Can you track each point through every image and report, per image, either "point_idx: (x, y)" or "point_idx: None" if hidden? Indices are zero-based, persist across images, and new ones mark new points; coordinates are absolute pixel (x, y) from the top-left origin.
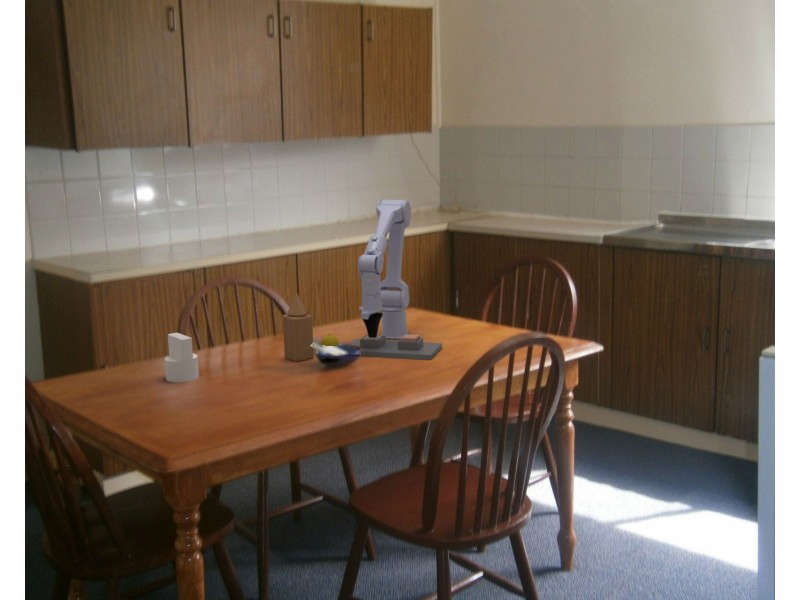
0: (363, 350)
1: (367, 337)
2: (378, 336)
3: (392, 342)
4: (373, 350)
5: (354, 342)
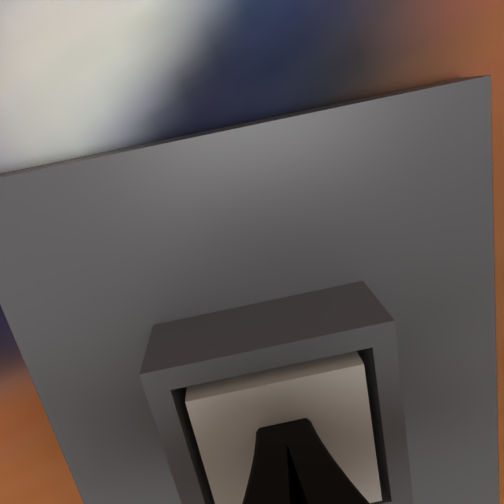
0: (72, 405)
1: (245, 417)
2: None
3: (432, 477)
4: (119, 476)
5: (315, 160)
